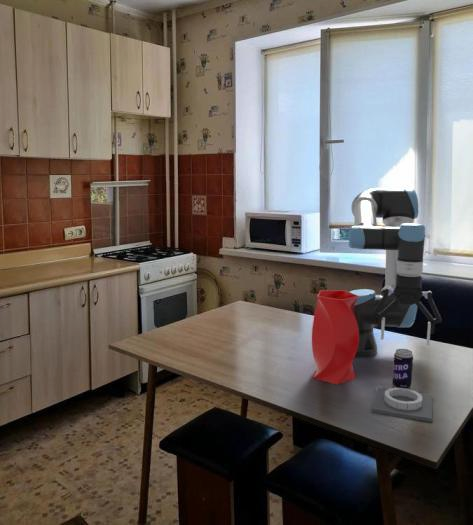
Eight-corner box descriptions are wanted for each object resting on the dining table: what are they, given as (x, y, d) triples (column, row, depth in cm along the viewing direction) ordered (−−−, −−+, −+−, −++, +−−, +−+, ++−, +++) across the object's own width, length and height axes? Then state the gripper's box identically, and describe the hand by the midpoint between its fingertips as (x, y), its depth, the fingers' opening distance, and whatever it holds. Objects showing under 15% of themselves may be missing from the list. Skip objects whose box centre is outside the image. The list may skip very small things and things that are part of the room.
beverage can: (389, 383, 164) (391, 348, 162) (406, 383, 164) (408, 348, 162) (396, 391, 158) (398, 354, 156) (413, 390, 159) (416, 354, 157)
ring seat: (371, 412, 144) (372, 402, 144) (377, 389, 159) (377, 380, 159) (431, 422, 139) (432, 411, 138) (431, 398, 154) (432, 388, 153)
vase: (321, 364, 180) (324, 287, 175) (362, 371, 173) (366, 292, 168) (307, 379, 167) (310, 297, 162) (350, 388, 160) (354, 302, 155)
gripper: (365, 273, 156) (362, 339, 159) (453, 279, 147) (448, 349, 150) (368, 269, 163) (365, 332, 166) (452, 275, 154) (447, 342, 157)
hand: (404, 341), depth 158 cm, fingers open, 13 cm apart
